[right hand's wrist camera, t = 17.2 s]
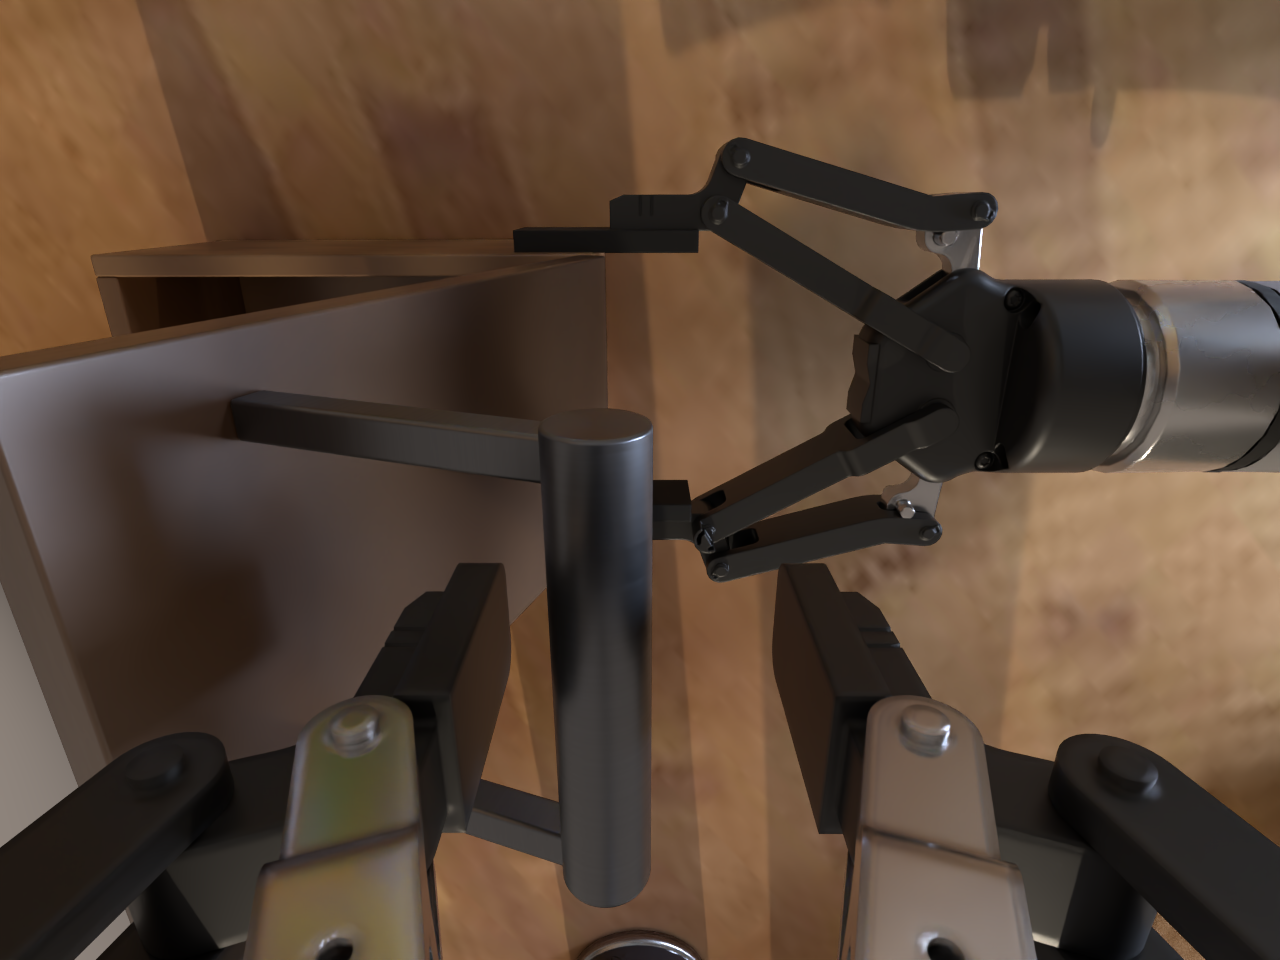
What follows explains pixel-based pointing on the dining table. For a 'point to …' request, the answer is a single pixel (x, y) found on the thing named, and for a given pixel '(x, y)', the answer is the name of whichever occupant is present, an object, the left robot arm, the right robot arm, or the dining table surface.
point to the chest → (279, 274)
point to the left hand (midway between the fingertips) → (528, 379)
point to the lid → (341, 529)
